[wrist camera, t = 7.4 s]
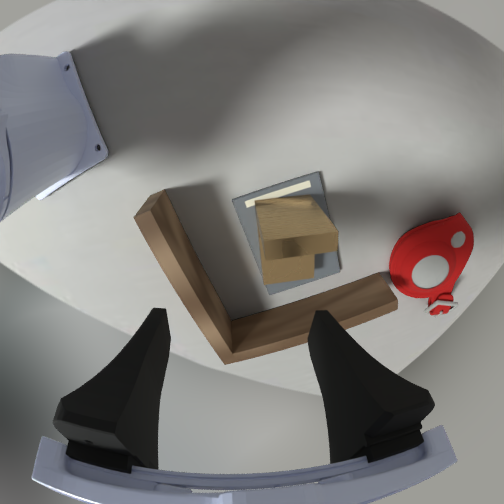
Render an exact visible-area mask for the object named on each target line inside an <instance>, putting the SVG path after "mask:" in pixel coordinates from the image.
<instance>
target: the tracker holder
mask: <svg viewBox="0 0 504 504" xmlns="http://www.w3.org/2000/svg"><path fill="white" fill-rule="evenodd" d="M473 246H474V237H473V231H472V228H471V227H470V226H469V224H468V223H467V221H466V220H465V219H464V217H463V216H462V215H461V213H457V214H456V215H454V216H450V217H448V218H445V219H442V220H436V221H432V222H428V223H426V224H423V225H421V226H418V227H416V228H414V229H412V230H410V231H408V232H407V233H405V234H404V235H403V236H401V238H400V239H399V240H398V241H397V243H396V244H395V246H394V248H393V250H392V253H391V257H390V262H389V270H390V275H391V279H392V282H393V284H394V285H395V287H396V288H397V289H398V290H399V291H400V292H402V293H403V294H405V295H407V296H410V297H414V298H428V297H429V301H428V308H426V309H425V310H424V312H425V313H430V314H431V315H434V317H438V316H440V315H444V314H446V313H448V312H449V311H451V310H452V309H454V308H455V307H457V306H458V302H453V296H452V295H451V292H452V289H453V287H454V284H455V282H456V280H457V279H458V277H459V276H460V274H461V272H462V271H463V269H464V267H465V265H466V263H467V261H468V259H469V257H470V255H471V252H472V250H473Z"/></svg>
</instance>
